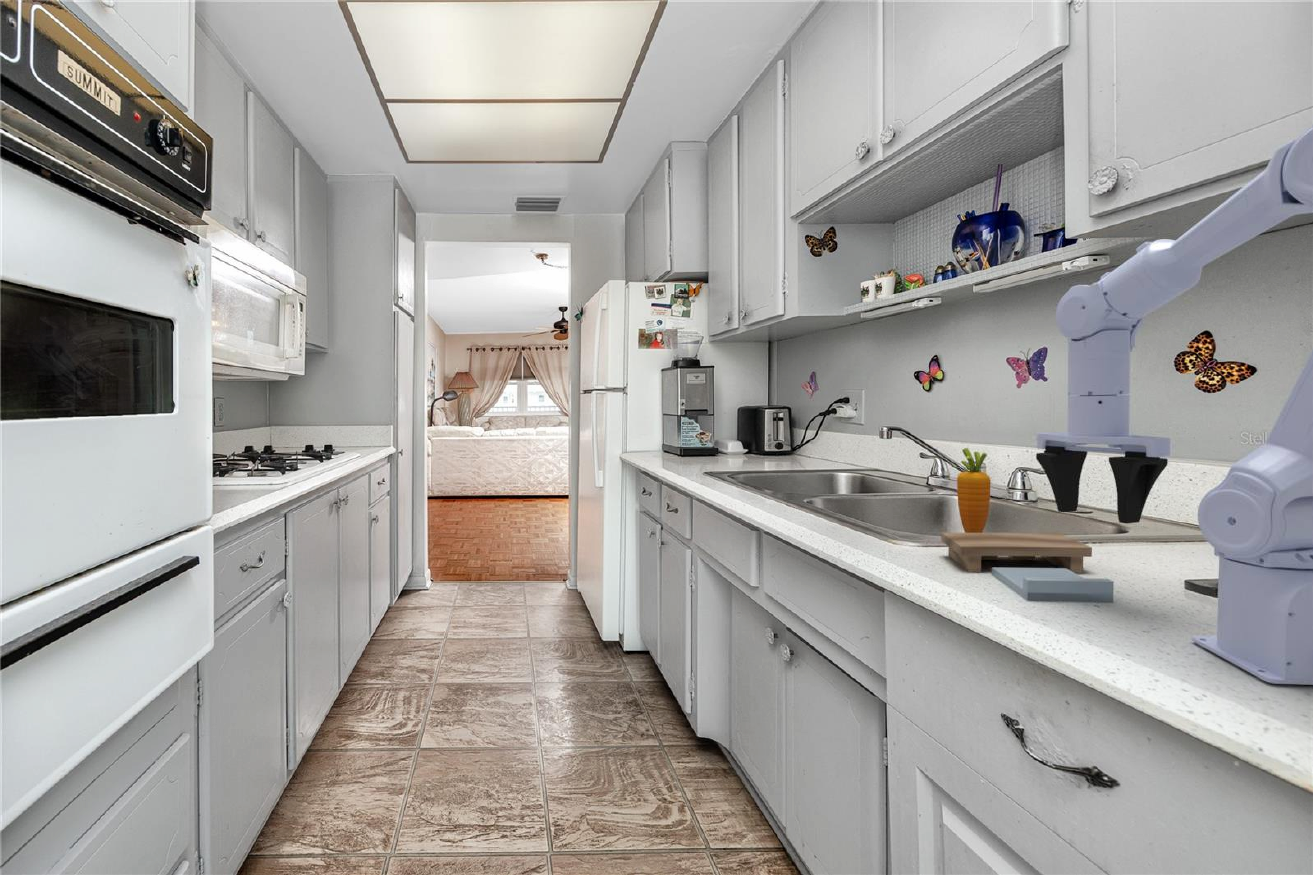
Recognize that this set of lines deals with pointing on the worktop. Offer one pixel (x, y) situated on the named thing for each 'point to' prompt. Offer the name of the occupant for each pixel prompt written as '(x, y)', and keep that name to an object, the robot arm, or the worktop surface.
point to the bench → (1015, 548)
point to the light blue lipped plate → (1054, 585)
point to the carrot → (973, 494)
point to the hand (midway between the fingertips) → (1096, 516)
